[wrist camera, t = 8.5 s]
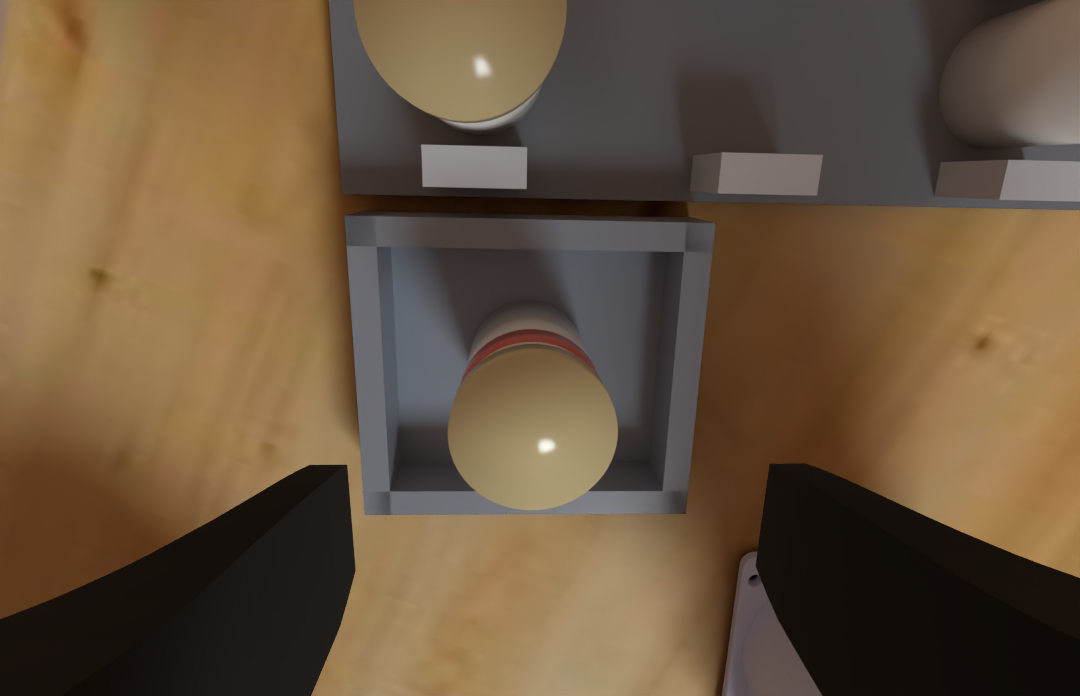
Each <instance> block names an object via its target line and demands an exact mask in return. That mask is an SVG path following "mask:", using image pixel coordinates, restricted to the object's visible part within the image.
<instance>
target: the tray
mask: <svg viewBox="0 0 1080 696" xmlns="http://www.w3.org/2000/svg"><path fill="white" fill-rule="evenodd" d="M715 226H716V223H713V222H709V221H704V220H700V219H695V218H691V217H657V216H608V215H560V214H512V213H463V212H415V211H363V212H358V213H354V214H349V215H345V231H346V245H347V260H348V275H349V289H350V304H351V319H352V333H353V348H354V363H355V377H356V392H357V407H358V422H359V436H360V451H361V466H362V480H363V495H364V510H365V515H452V514H686V506H687V496H688V486H689V477H690V467H691V457H692V448H693V438H694V428H695V419H696V409H697V399H698V390H699V380H700V370H701V361H702V351H703V341H704V332H705V322H706V312H707V303H708V293H709V284H710V274H711V264H712V255H713V245H714V235H715ZM523 300H532V301H539V302H543V303H547V304H549V305H552V306H554V307H556V308H557V309H559V310H561V311H562V312H563V313H565V314H566V315H567V316H568V317H569V318H570V319H571V321H572V322H573V323H574V324H575V326H576V328H577V330H578V332H579V334H580V336H581V339H582V341H583V344H584V346H585V349H586V351H587V354H588V356H589V358H590V360H591V361H592V363H593V365H594V367H595V369H596V371H597V374H598V376H599V377H600V379H601V380H602V382H603V384H604V385H605V387H606V390H607V392H608V394H609V397H610V399H611V402H612V404H613V407H614V409H615V413H616V417H617V425H618V439H617V445H616V450H615V453H614V456H613V459H612V461H611V463H610V465H609V467H608V469H607V470H606V472H605V473H604V475H603V476H602V477H601V478H600V480H599V481H598V482H597V483H596V484H595V485H594V486H593V487H592V488H591V489H590V490H588V491H587V492H586V493H584V494H583V495H581V496H580V497H578V498H577V499H575V500H573V501H571V502H569V503H566V504H564V505H561V506H558V507H554V508H550V509H543V510H519V509H514V508H509V507H505V506H502V505H499V504H497V503H495V502H493V501H490V500H488V499H487V498H485V497H484V496H482V495H480V494H479V493H478V492H476V491H475V490H474V489H473V488H472V487H471V486H470V485H469V484H468V483H467V482H466V481H465V480H464V479H463V477H462V476H461V474H460V473H459V472H458V470H457V468H456V466H455V464H454V462H453V459H452V456H451V453H450V449H449V444H448V422H449V418H450V414H451V410H452V406H453V402H454V398H455V396H456V393H457V391H458V388H459V387H460V384H461V380H462V376H463V374H464V371H465V369H466V367H467V364H468V360H469V356H470V351H471V347H472V343H473V339H474V336H475V334H476V332H477V330H478V328H479V326H480V325H481V323H482V322H483V321H484V320H485V319H486V318H487V317H488V316H489V315H490V314H491V313H492V312H493V311H495V310H496V309H498V308H500V307H501V306H504V305H506V304H509V303H512V302H516V301H523Z"/></svg>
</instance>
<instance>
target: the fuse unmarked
mask: <svg viewBox="0 0 1080 696" xmlns="http://www.w3.org/2000/svg"><path fill="white" fill-rule="evenodd" d="M353 3H354V11H355V19H356V23H357V27H358V31H359V35H360V37H361V40H362V43H363V46H364V48H365V50H366V52H367V54H368V56H369V58H370V60H371V62H372V64H373V65H374V67H375V68H376V70H377V71H378V73H379V74H380V75H381V77H382V78H383V79H384V80H385V81H386V82H387V84H388V85H389V86H390V87H391V88H392V89H393V90H394V91H396V92H397V93H398V94H399V95H400V96H401V97H403V98H404V99H406V100H407V101H408V102H410V103H411V104H412V105H414V106H415V107H417V108H418V109H420V110H422V111H424V112H425V113H427V114H429V115H432V116H434V117H437V118H438V119H440V120H441V121H442V122H444V123H445V124H446V125H448V126H450V127H451V128H453V129H455V130H457V131H460V132H463V133H466V134H471V135H479V136H481V135H492V134H497V133H500V132H503V131H505V130H507V129H509V128H512V127H513V126H514V125H516V124H517V123H519V122H520V121H521V120H522V119H523V118H524V117H525V116H526V115H527V114H528V113H529V112H530V110H531V109H532V107H533V106H534V104H535V103H536V101H537V99H538V96H539V94H540V91H541V88H542V85H543V82H544V81H545V79H546V78H547V76H548V75H549V73H550V71H551V69H552V67H553V65H554V63H555V60H556V57H557V54H558V51H559V48H560V45H561V42H562V39H563V34H564V30H565V24H566V13H567V0H353Z"/></svg>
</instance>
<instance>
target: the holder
mask: <svg viewBox="0 0 1080 696" xmlns="http://www.w3.org/2000/svg"><path fill="white" fill-rule="evenodd" d="M1042 1H1045V0H567V13H566V24H565V30H564V34H563V39H562V42H561V45H560V48H559V51H558V54H557V57H556V60H555V63H554V65H553V67H552V69H551V71H550V73H549V75H548V76H547V78H546V79H545V81H544V82H543V85H542V88H541V91H540V94H539V96H538V99H537V101H536V103H535V104H534V106H533V107H532V109H531V110H530V112H529V113H528V114H527V115H526V116H525V117H524V118H523V119H522V120H521V121H520V122H519V123H517V124H516V125H514V126H513V127H512V128H509V129H507V130H505V131H503V132H500V133H497V134H492V135H481V136H479V135H471V134H466V133H463V132H460V131H457V130H455V129H453V128H451V127H450V126H448V125H446V124H445V123H444V122H442V121H441V120H440V119H438V118H437V117H434V116H432V115H429V114H427V113H425V112H424V111H422V110H420V109H418V108H417V107H415V106H414V105H412V104H411V103H410V102H408V101H407V100H406V99H404V98H403V97H401V96H400V95H399V94H398V93H397V92H396V91H394V90H393V89H392V88H391V87H390V86H389V85H388V84H387V82H386V81H385V80H384V79H383V78H382V77H381V75H380V74H379V73H378V71H377V70H376V68H375V67H374V65H373V64H372V62H371V60H370V58H369V56H368V54H367V52H366V50H365V48H364V46H363V43H362V40H361V37H360V35H359V31H358V27H357V23H356V19H355V11H354V3H353V0H329V12H330V26H331V41H332V56H333V70H334V85H335V99H336V114H337V129H338V143H339V158H340V172H341V187H342V194H366V195H411V196H457V197H503V198H548V199H594V200H639V201H685V202H731V203H776V204H822V205H867V206H913V207H959V208H1004V209H1050V210H1080V144H1067V145H1050V146H1033V147H1016V148H999V149H980V148H975V147H971V146H969V145H967V144H965V143H963V142H961V141H960V140H958V139H957V138H956V137H955V136H954V135H953V134H952V133H951V131H950V130H949V129H948V127H947V125H946V124H945V122H944V119H943V117H942V114H941V109H940V103H939V89H940V81H941V77H942V73H943V71H944V68H945V65H946V63H947V61H948V59H949V57H950V55H951V53H952V52H953V50H954V49H955V47H956V46H957V45H958V43H959V42H960V41H961V40H962V39H963V38H964V37H965V36H966V35H967V34H968V33H969V32H970V31H971V30H973V29H974V28H975V27H976V26H978V25H980V24H981V23H983V22H985V21H987V20H989V19H991V18H994V17H997V16H1000V15H1003V14H1006V13H1009V12H1012V11H1015V10H1018V9H1021V8H1024V7H1027V6H1030V5H1033V4H1036V3H1039V2H1042Z"/></svg>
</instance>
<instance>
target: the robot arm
mask: <svg viewBox="0 0 1080 696" xmlns="http://www.w3.org/2000/svg"><path fill="white" fill-rule="evenodd" d="M354 574H355V558H354V546H353V533H352V521H351V508H350V496H349V483H348V471H347V465H309V466H307V467H305V468H302V469H300V470H298V471H296V472H294V473H293V474H291V475H289V476H287V477H285V478H284V479H282V480H280V481H278V482H277V483H275V484H273V485H272V486H270V487H268V488H266V489H265V490H263V491H261V492H260V493H258V494H256V495H255V496H253V497H251V498H250V499H248V500H246V501H245V502H243V503H241V504H239V505H238V506H236V507H234V508H233V509H231V510H229V511H228V512H226V513H224V514H222V515H221V516H219V517H217V518H216V519H214V520H212V521H210V522H208V523H207V524H205V525H203V526H201V527H199V528H197V529H195V530H194V531H192V532H190V533H188V534H186V535H184V536H183V537H181V538H179V539H177V540H175V541H173V542H171V543H170V544H168V545H166V546H164V547H162V548H160V549H158V550H157V551H155V552H153V553H151V554H149V555H147V556H145V557H143V558H141V559H139V560H137V561H135V562H133V563H131V564H129V565H127V566H125V567H123V568H121V569H119V570H117V571H114V572H112V573H110V574H108V575H106V576H104V577H101V578H99V579H97V580H95V581H93V582H90V583H88V584H86V585H84V586H81V587H79V588H77V589H75V590H72V591H70V592H68V593H66V594H63V595H61V596H59V597H56V598H54V599H52V600H49V601H47V602H44V603H42V604H39V605H37V606H34V607H31V608H29V609H26V610H24V611H21V612H18V613H16V614H13V615H11V616H8V617H5V618H3V619H0V696H311V694H312V692H313V690H314V687H315V685H316V683H317V680H318V678H319V676H320V673H321V671H322V668H323V666H324V664H325V661H326V659H327V656H328V654H329V652H330V649H331V647H332V645H333V642H334V640H335V637H336V635H337V632H338V630H339V627H340V624H341V621H342V618H343V614H344V611H345V607H346V604H347V600H348V597H349V593H350V589H351V585H352V581H353V578H354ZM752 575H757V577H756V578H754V579H752V580H749V578H750V577H751V576H752ZM722 696H1080V578H1078V577H1075V576H1072V575H1070V574H1067V573H1064V572H1061V571H1058V570H1056V569H1053V568H1050V567H1047V566H1044V565H1042V564H1039V563H1036V562H1034V561H1031V560H1028V559H1026V558H1023V557H1021V556H1018V555H1015V554H1013V553H1010V552H1008V551H1005V550H1003V549H1001V548H998V547H996V546H994V545H991V544H989V543H986V542H984V541H982V540H979V539H977V538H974V537H972V536H970V535H967V534H965V533H962V532H960V531H958V530H956V529H953V528H951V527H949V526H946V525H944V524H942V523H940V522H937V521H935V520H933V519H931V518H929V517H926V516H924V515H922V514H920V513H918V512H915V511H913V510H911V509H909V508H907V507H905V506H902V505H900V504H898V503H896V502H894V501H892V500H889V499H887V498H885V497H883V496H881V495H879V494H877V493H874V492H872V491H870V490H868V489H866V488H864V487H861V486H859V485H857V484H855V483H853V482H850V481H848V480H846V479H844V478H841V477H839V476H837V475H834V474H832V473H830V472H827V471H825V470H822V469H819V468H817V467H814V466H811V465H807V464H770V466H769V473H768V480H767V487H766V494H765V502H764V509H763V516H762V523H761V530H760V537H759V545H758V552H750V553H748V554H746V555H744V557H743V558H742V559H741V561H740V566H739V573H738V580H737V588H736V595H735V602H734V610H733V617H732V624H731V632H730V639H729V646H728V654H727V661H726V668H725V676H724V683H723V690H722Z"/></svg>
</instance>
